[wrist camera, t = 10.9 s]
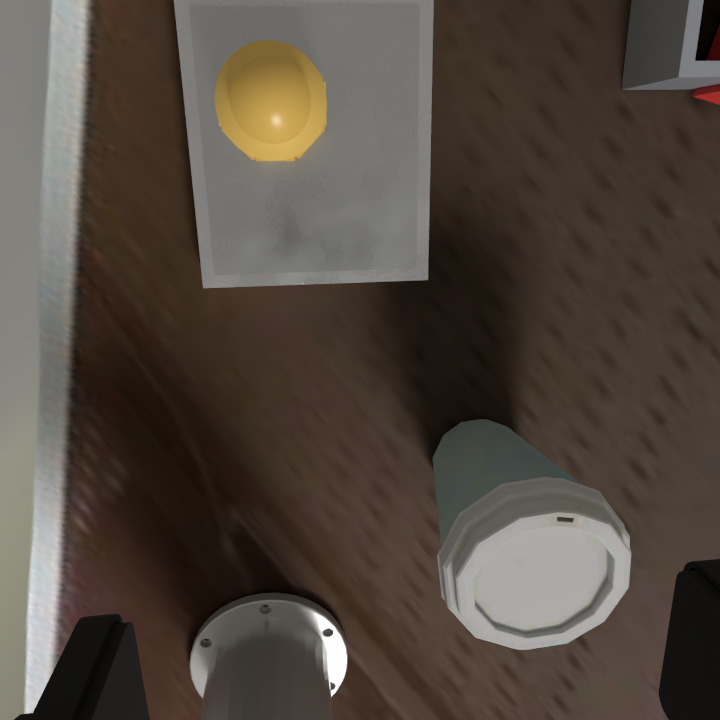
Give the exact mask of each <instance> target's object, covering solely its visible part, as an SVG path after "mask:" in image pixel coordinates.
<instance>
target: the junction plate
mask: <svg viewBox="0 0 720 720" xmlns="http://www.w3.org/2000/svg"><path fill="white" fill-rule="evenodd" d="M433 3H434V0H174V7H175V17H176V27H177V36H178V46H179V56H180V66H181V76H182V86H183V95H184V105H185V115H186V125H187V135H188V145H189V154H190V164H191V174H192V184H193V194H194V203H195V213H196V223H197V233H198V243H199V253H200V262H201V272H202V282H203V288H219V287H247V286H275V285H303V284H331V283H359V282H387V281H415V280H428V259H429V208H430V156H431V105H432V54H433ZM261 40H274V41H279V42H284V43H286V44H290V45H291V46H294V47H295V48H297V49H298V50H300V51H301V52H302V53H304V54H305V55H306V56H307V57H308V58H309V59H310V60H311V62H312V63H313V64H314V65H315V67H316V68H317V70H318V71H319V73H320V74H321V75H322V76H323V82H325V84H326V97H327V111H326V119H327V125H326V127H325V128H324V129H325V130H324V131H323V133H322V134H321V135H320V136H319V137H318V138H317V139H316V140H315V141H314V143H313V144H312V145H311V146H310V147H309V148H308V149H307V150H306V152H305V153H304V154H303V155H302V156H301V157H300V158H299V159H298V158H297V157H296V156H295V161H256V160H251V159H250V158H249V157H248V156H247V155H246V154H245V153H244V152H243V151H242V150H240V149H239V148H238V147H237V146H236V145H234V144H233V142H232V141H231V140H230V139H229V138H228V136H227V135H225V134H224V133H223V132H222V131H221V130H222V127H220V126H219V120H218V117H217V113H216V108H215V86H216V82H217V77H218V75H219V73H220V70H221V69H222V67H223V65H224V63H225V62H226V61H227V59H228V58H229V57H230V56H231V55H232V54H233V53H234V52H235V51H237V50H238V49H239V48H241V47H243V46H245V45H247V44H249V43H252V42H256V41H261Z"/></svg>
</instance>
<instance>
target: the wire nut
mask: <svg viewBox="0 0 720 720" xmlns="http://www.w3.org/2000/svg"><path fill="white" fill-rule="evenodd" d="M215 108H216V113H217V117H218V120H219V126H220V127H222V130H221V131H222V132H223V133H224V134H225V135H227V136H228V138H229V139H230V140H231V141H232V142H233V144H234V145H236V146H237V147H238V148H239V149H240V150H242V151H243V152H244V153H245V154H246V155H247V156H248V157H249V158H250V159H251V160H256V161H295V156H296V157H297V158H298V159H299V158H300V157H301V156H302V155H303V154H304V153H305V152H306V150H307V149H308V148H309V147H310V146H311V145H312V144H313V143H314V141H315V140H316V139H317V138H318V137H319V136H320V135H321V134H322V133H323V131H324V130H325V129H324V128H325V127H326V125H327V119H326V111H327V97H326V84H325V82H323V76H322V75H321V74H320V73H319V71H318V70H317V68H316V67H315V65H314V64H313V63H312V62H311V60H310V59H309V58H308V57H307V56H306V55H305V54H304V53H302V52H301V51H300V50H298V49H297V48H295V47H294V46H291V45H290V44H286V43H284V42H279V41H274V40H261V41H256V42H252V43H249V44H247V45H245V46H243V47H241V48H239V49H238V50H237V51H235V52H234V53H233V54H232V55H231V56H230V57H229V58H228V59H227V61H226V62H225V63H224V65H223V67H222V69H221V70H220V73H219V75H218V77H217V82H216V86H215Z"/></svg>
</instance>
